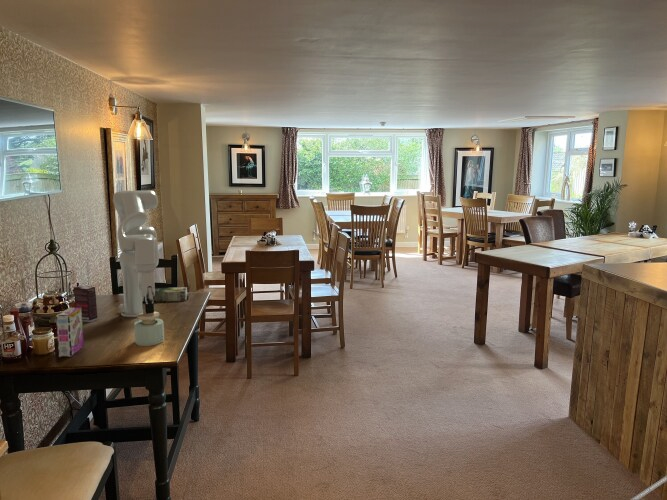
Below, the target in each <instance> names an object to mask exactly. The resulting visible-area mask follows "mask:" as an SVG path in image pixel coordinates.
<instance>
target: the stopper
mask: <svg viewBox="0 0 667 500" xmlns="http://www.w3.org/2000/svg"><path fill="white" fill-rule="evenodd" d="M136 318H137V320H138V321H139V320H142V325H152V324H155V319H160V312H158V311H154V313H149V314H146V312H145V304H143V313H140V314H138V315H137V317H136Z"/></svg>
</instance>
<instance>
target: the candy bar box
mask: <svg viewBox="0 0 667 500" xmlns="http://www.w3.org/2000/svg"><path fill="white" fill-rule="evenodd" d="M55 321H56V322H55V323H56V333H57V348H58V358H72V357H73V356H74V355H76V354H77V352H78V353H79V351H81V349H83V348H84V347H85V346H84V345H85V344H84V330H83V321H82V310H81V308H77V307H76V308H75V307H68V308H66V309H64V310H63V311H61V312H60V313H58V314H56V315H55Z"/></svg>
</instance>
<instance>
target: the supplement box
mask: <svg viewBox="0 0 667 500" xmlns="http://www.w3.org/2000/svg"><path fill="white" fill-rule="evenodd" d="M73 297H74V308H76V307H77V308H81V310H82V322H86V323H92V322H94V321H97V320H98V309H97V307H98V306H97V296H96V287H95V286H90V285H89V286H88V285H78V286H74V287H73Z"/></svg>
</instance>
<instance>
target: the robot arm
mask: <svg viewBox="0 0 667 500" xmlns="http://www.w3.org/2000/svg"><path fill="white" fill-rule="evenodd" d="M112 202H113V206H114V208H115V210H116V213H117V215H118V218H119V223H120V224H119V226H118V229H117V241H118V247H119V250H120V251H121V253H120V254H119V257H118V258H119V259H118V260H119V264H120V269H121V274H122V287H123V288H122V290H123V291H122V292H123V303H120V304H119V305H118V309H120V310H122V311H121V313H120V314H121V316H122V317H125V318H138V317H137V315H138V314H140V313H143V304H145V312H146V314H149V313H154V312H155V306H154V305H155V304H154V301H153V296H154V295H155V288H156V286H155V272H156V271H157V267H158V265H159V262H160V261H159V260H160V259H159V243H158V235H157V231H156V229H155V228H154V227H153V226H148V225H147V226H146V225H145V224H146V223H147V221H148V215H147V210H155V209H158V208H157V207H158V206H159V198H158V195H157V193H156V192H155V191H154V190H149V189H148V190H120V191H117V192H114V194H113V197H112ZM143 225H145V226H143Z"/></svg>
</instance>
